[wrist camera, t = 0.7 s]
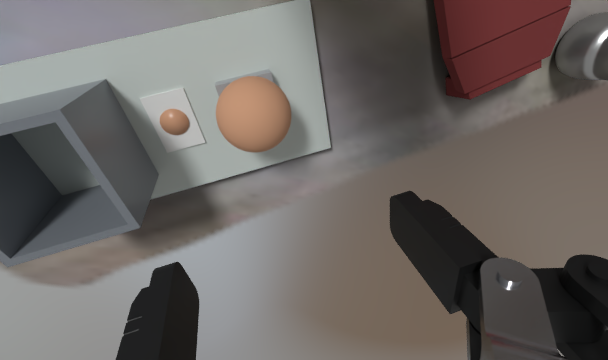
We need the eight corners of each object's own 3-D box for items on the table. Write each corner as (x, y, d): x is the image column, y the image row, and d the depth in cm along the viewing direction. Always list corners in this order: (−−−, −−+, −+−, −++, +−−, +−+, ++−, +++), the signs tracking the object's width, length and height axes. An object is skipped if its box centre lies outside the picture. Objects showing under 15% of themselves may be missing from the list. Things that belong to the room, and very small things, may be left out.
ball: (236, 54, 23) (241, 68, 18) (296, 92, 26) (314, 113, 21) (203, 116, 25) (200, 144, 20) (263, 146, 28) (272, 176, 23)
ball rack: (54, 222, 29) (-3, 298, 21) (-72, 81, 21) (-233, 123, 13) (328, 144, 32) (361, 186, 24) (306, -3, 24) (345, -6, 17)
